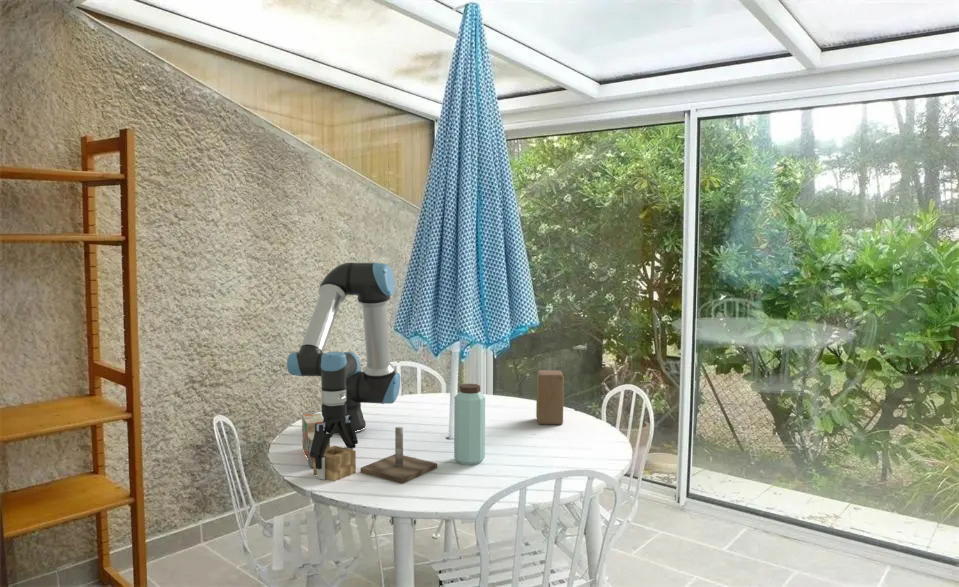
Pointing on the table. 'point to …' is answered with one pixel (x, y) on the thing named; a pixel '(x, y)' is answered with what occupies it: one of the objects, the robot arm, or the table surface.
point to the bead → (338, 463)
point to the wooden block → (550, 397)
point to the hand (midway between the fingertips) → (334, 473)
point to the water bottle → (469, 425)
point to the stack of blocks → (310, 433)
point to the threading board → (398, 472)
